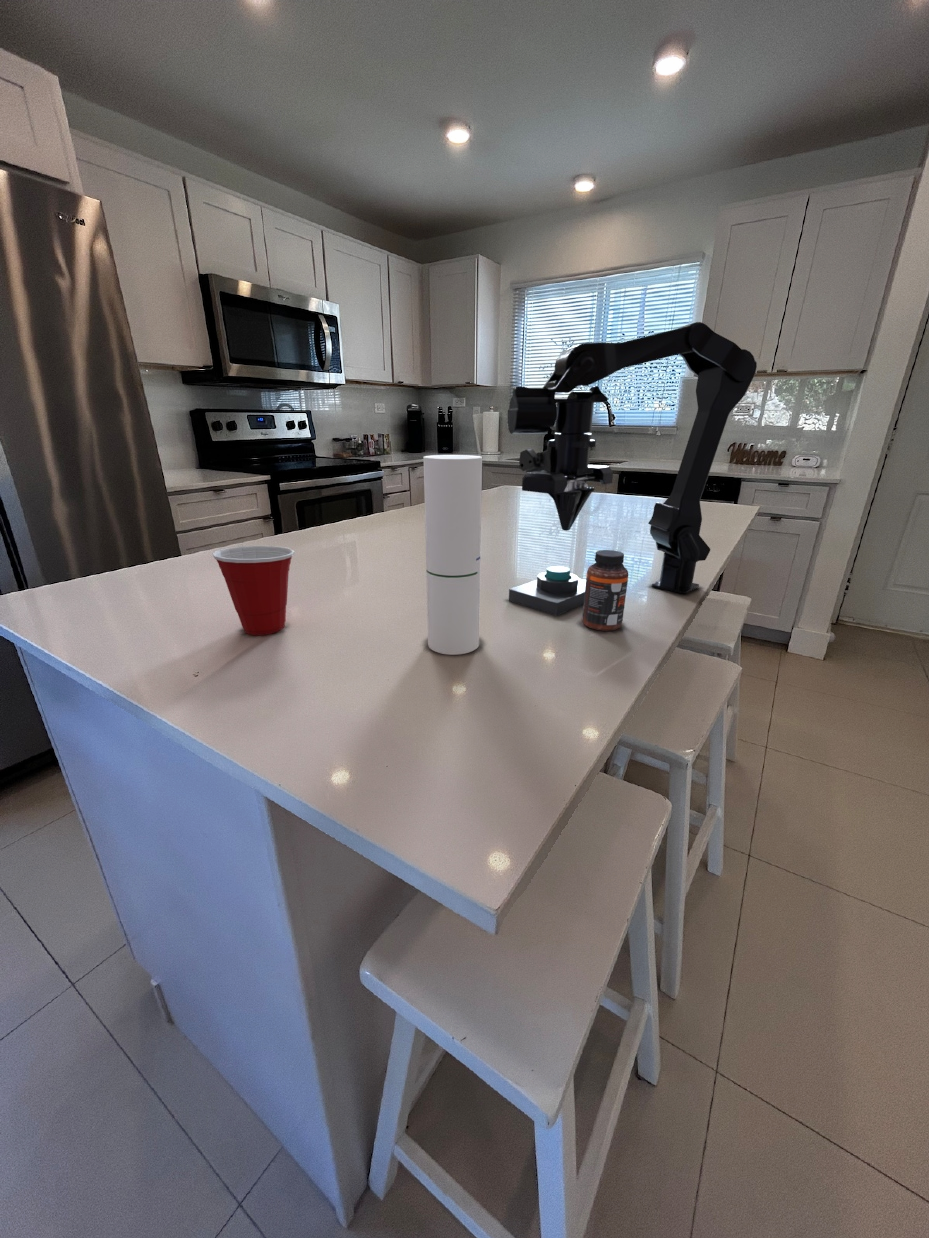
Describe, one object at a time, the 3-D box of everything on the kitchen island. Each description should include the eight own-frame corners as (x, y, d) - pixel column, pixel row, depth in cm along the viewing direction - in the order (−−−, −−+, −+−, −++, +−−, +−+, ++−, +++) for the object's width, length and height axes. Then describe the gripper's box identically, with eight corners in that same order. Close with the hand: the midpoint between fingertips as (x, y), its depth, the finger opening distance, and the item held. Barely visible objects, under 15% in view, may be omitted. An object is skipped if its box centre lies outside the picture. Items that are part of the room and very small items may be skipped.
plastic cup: (318, 621, 79) (310, 545, 74) (266, 647, 70) (253, 563, 65) (265, 610, 83) (254, 537, 78) (209, 634, 74) (193, 553, 69)
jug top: (555, 583, 97) (557, 563, 95) (602, 595, 90) (604, 574, 89) (508, 601, 88) (509, 578, 86) (556, 616, 81) (558, 592, 80)
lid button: (554, 574, 90) (555, 564, 90) (574, 578, 88) (574, 569, 87) (541, 578, 88) (541, 569, 87) (560, 583, 85) (561, 573, 84)
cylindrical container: (485, 637, 73) (489, 455, 64) (469, 657, 67) (471, 459, 58) (439, 630, 75) (436, 454, 66) (419, 650, 69) (413, 458, 60)
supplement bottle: (623, 634, 74) (633, 559, 70) (581, 630, 76) (589, 556, 71) (620, 619, 80) (629, 548, 76) (581, 616, 81) (588, 546, 77)
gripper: (563, 431, 93) (557, 516, 99) (496, 434, 80) (494, 531, 86) (619, 432, 86) (609, 524, 91) (555, 435, 73) (549, 542, 79)
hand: (565, 530), depth 87 cm, fingers closed
